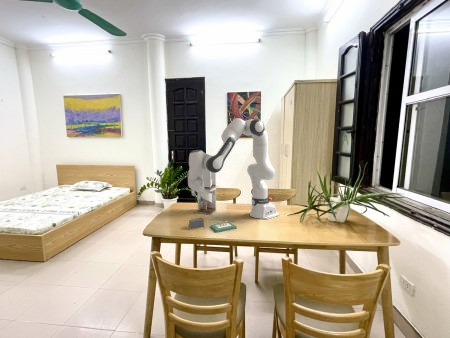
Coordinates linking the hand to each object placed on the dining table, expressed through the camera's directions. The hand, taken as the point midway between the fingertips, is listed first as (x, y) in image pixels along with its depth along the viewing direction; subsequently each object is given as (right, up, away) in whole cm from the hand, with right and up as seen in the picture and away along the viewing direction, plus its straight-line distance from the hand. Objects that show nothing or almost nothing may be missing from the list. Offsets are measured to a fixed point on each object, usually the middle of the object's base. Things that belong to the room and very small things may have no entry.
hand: (196, 197), depth 145 cm
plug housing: (0, -20, +3) cm, 20 cm away
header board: (+17, -20, +1) cm, 27 cm away
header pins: (+17, -18, +1) cm, 25 cm away
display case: (+4, -16, +34) cm, 38 cm away
